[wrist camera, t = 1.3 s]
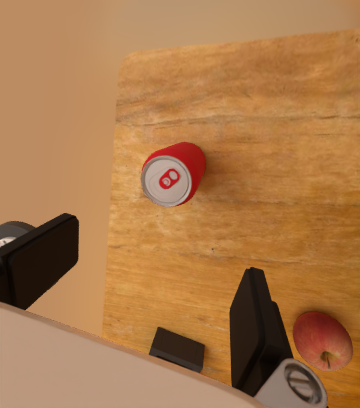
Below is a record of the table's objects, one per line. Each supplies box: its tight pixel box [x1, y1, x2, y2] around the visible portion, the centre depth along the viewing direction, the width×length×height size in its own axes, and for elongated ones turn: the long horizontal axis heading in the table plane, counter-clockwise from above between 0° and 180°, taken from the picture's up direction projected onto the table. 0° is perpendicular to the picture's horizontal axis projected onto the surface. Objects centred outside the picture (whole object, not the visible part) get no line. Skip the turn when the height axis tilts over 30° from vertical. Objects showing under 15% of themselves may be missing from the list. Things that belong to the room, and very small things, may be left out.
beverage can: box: [141, 142, 206, 207], centre depth 26 cm, size 6×6×12 cm
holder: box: [149, 327, 205, 373], centre depth 44 cm, size 11×11×4 cm
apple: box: [293, 312, 353, 371], centre depth 33 cm, size 8×8×8 cm
